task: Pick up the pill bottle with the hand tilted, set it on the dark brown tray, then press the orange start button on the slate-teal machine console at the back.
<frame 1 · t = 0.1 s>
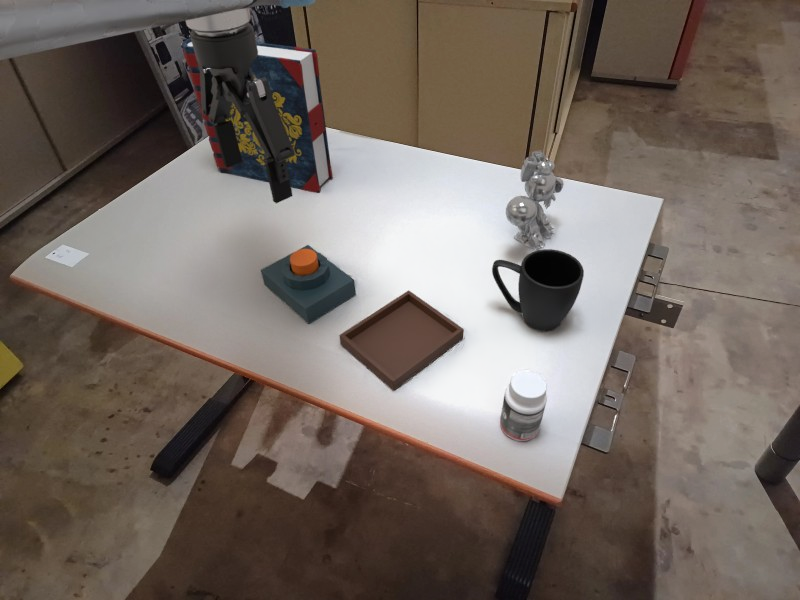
hand: (257, 180, 81), 15 cm above the table, tool pointing down, fingers open, 13 cm apart
robot toy: (528, 241, 93), on the table
pill bottle: (519, 426, 67), on the table
book: (271, 175, 112), on the table
console: (309, 290, 86), on the table
console button: (304, 262, 82), point 6 cm above the table, slide at 0.1 cm
tray: (402, 341, 77), on the table
mug: (528, 315, 81), on the table
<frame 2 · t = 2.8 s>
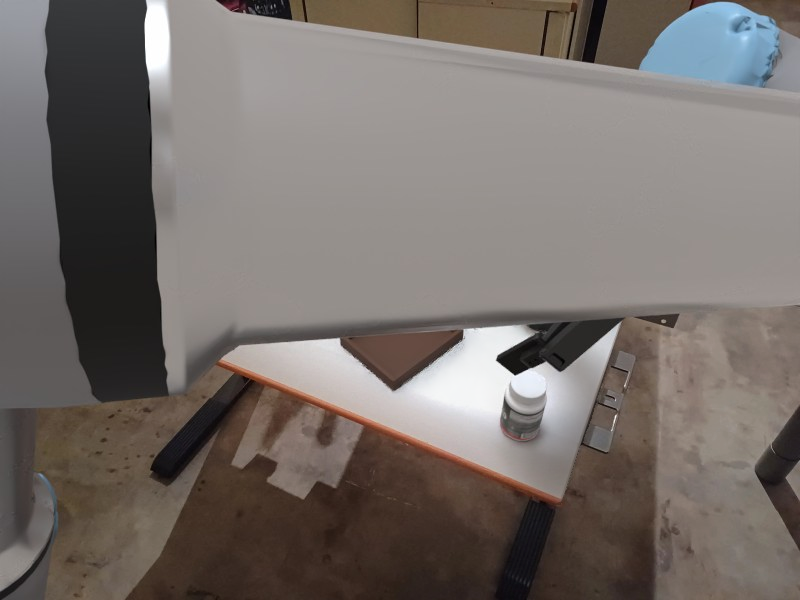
hand: (523, 320, 61), 13 cm above the table, tool tilted 35°, fingers open, 13 cm apart
nothing on the table moved.
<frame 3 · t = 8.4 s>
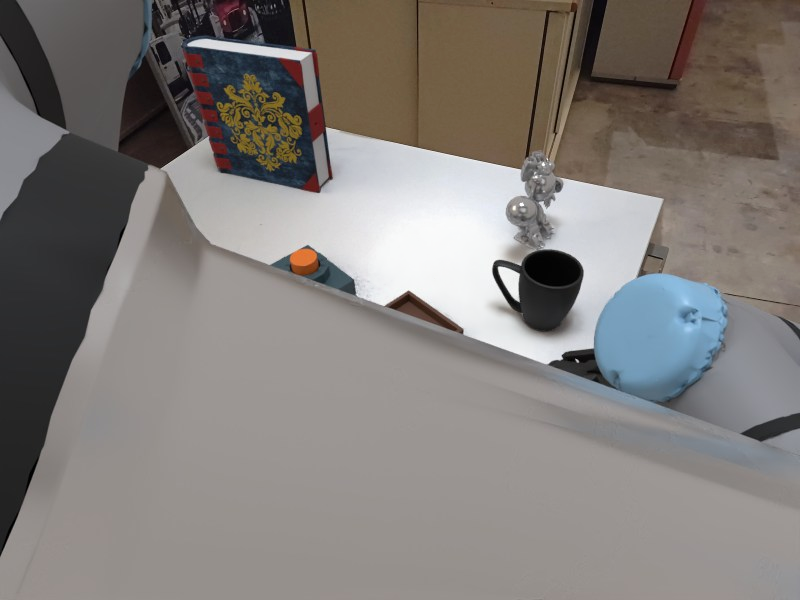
hand: (498, 391, 67), 3 cm above the table, tool tilted 45°, fingers closed on pill bottle, 5 cm apart
pill bottle: (519, 426, 67), on the table, touching gripper
everything else where it was.
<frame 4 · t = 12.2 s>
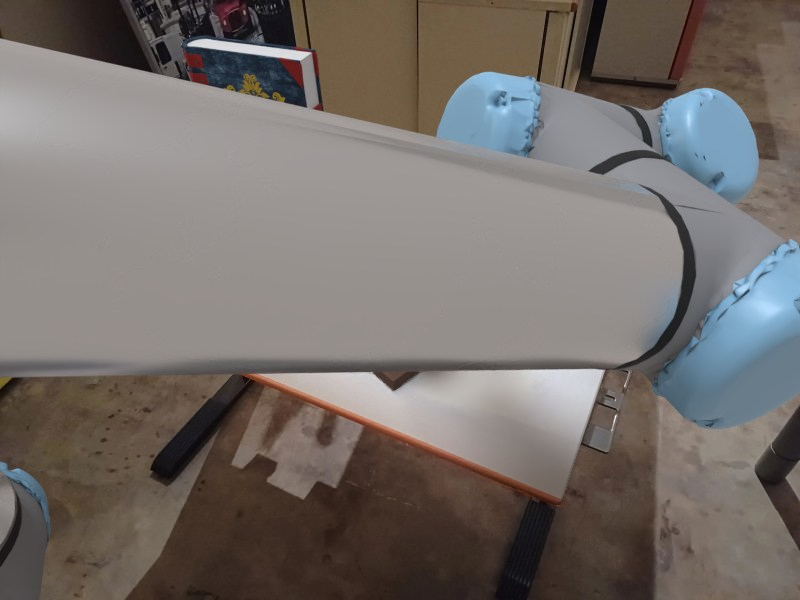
hand: (417, 273, 66), 14 cm above the table, tool tilted 45°, fingers closed on pill bottle, 5 cm apart
pill bottle: (439, 309, 67), point 11 cm above the table, touching gripper
everything else where it was.
when the fingers open (4 cm above the table, at t = 16.2 s): pill bottle stays where it is, resting on tray.
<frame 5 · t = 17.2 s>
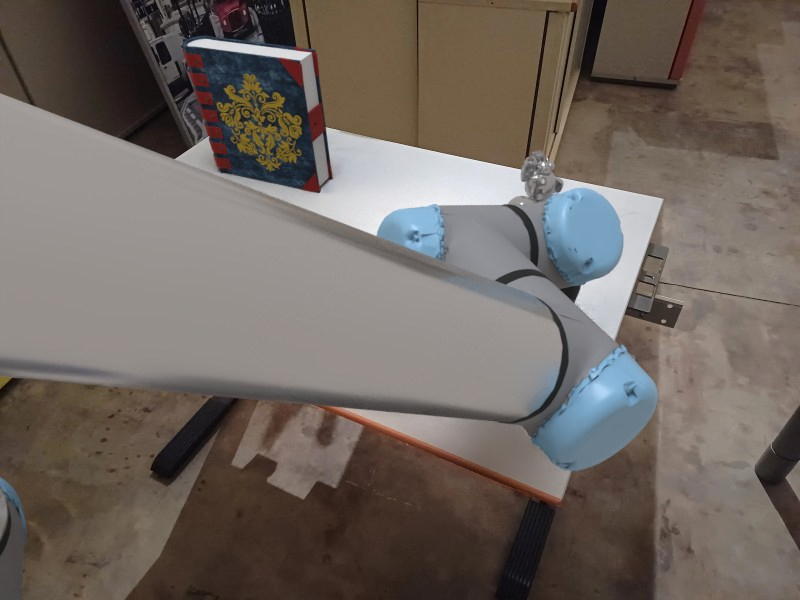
hand: (389, 304, 75), 6 cm above the table, tool tilted 45°, fingers open, 13 cm apart
pill bottle: (402, 340, 77), resting on tray
everything else where it was.
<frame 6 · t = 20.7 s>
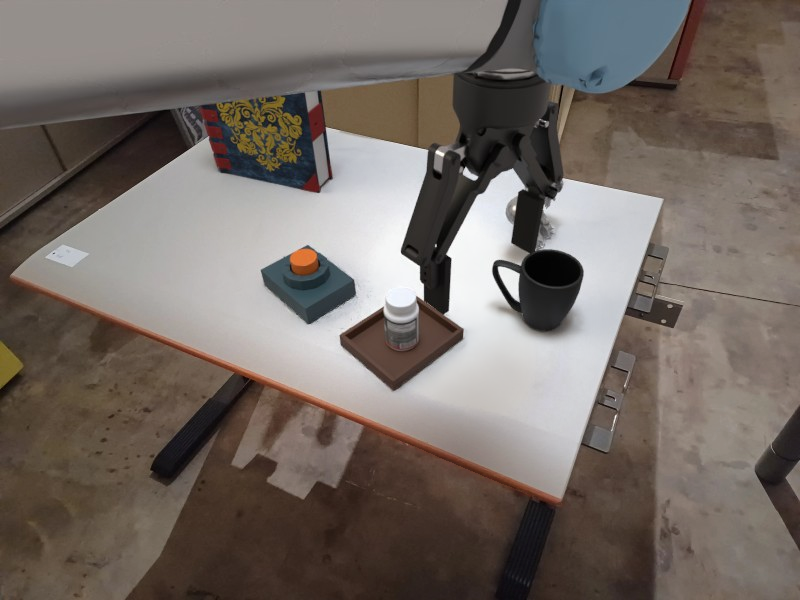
hand: (481, 275, 56), 20 cm above the table, tool pointing down, fingers open, 12 cm apart
nothing on the table moved.
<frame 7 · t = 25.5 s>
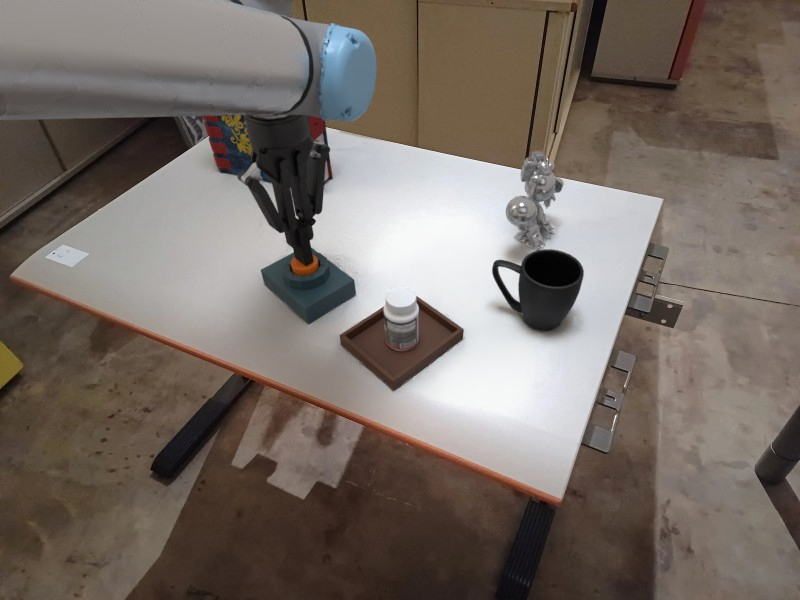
hand: (304, 259, 82), 6 cm above the table, tool pointing down, fingers closed
console button: (305, 266, 83), point 5 cm above the table, slide at -0.8 cm, touching gripper
everything else where it was.
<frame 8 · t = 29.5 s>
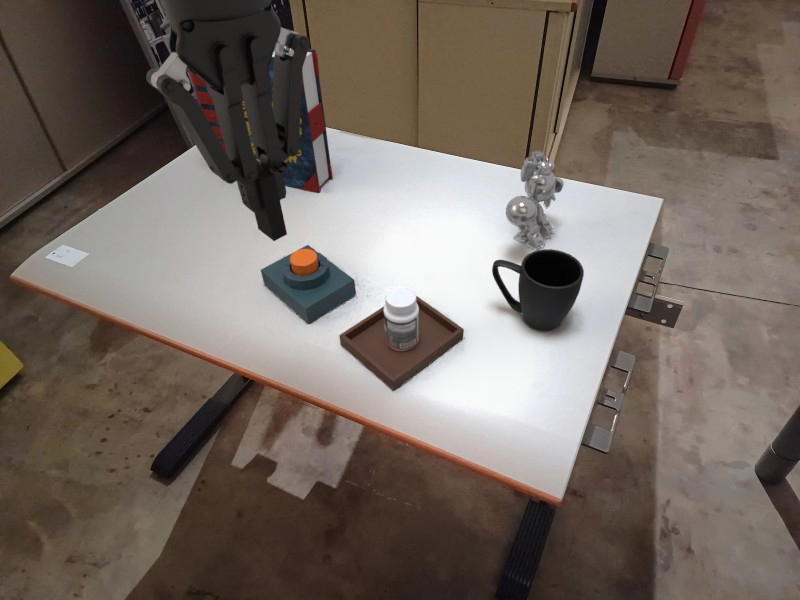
hand: (272, 231, 53), 26 cm above the table, tool pointing down, fingers closed
console button: (304, 262, 82), point 6 cm above the table, slide at 0.1 cm
everything else where it was.
at the end: pill bottle inside the target area in the tray (0.1 cm from its centre), point 0.3 cm above the tray's base; console button pushed in 1.0 cm at the most during the clip, back to where it started at the end; console button slide at 0.1 cm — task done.
